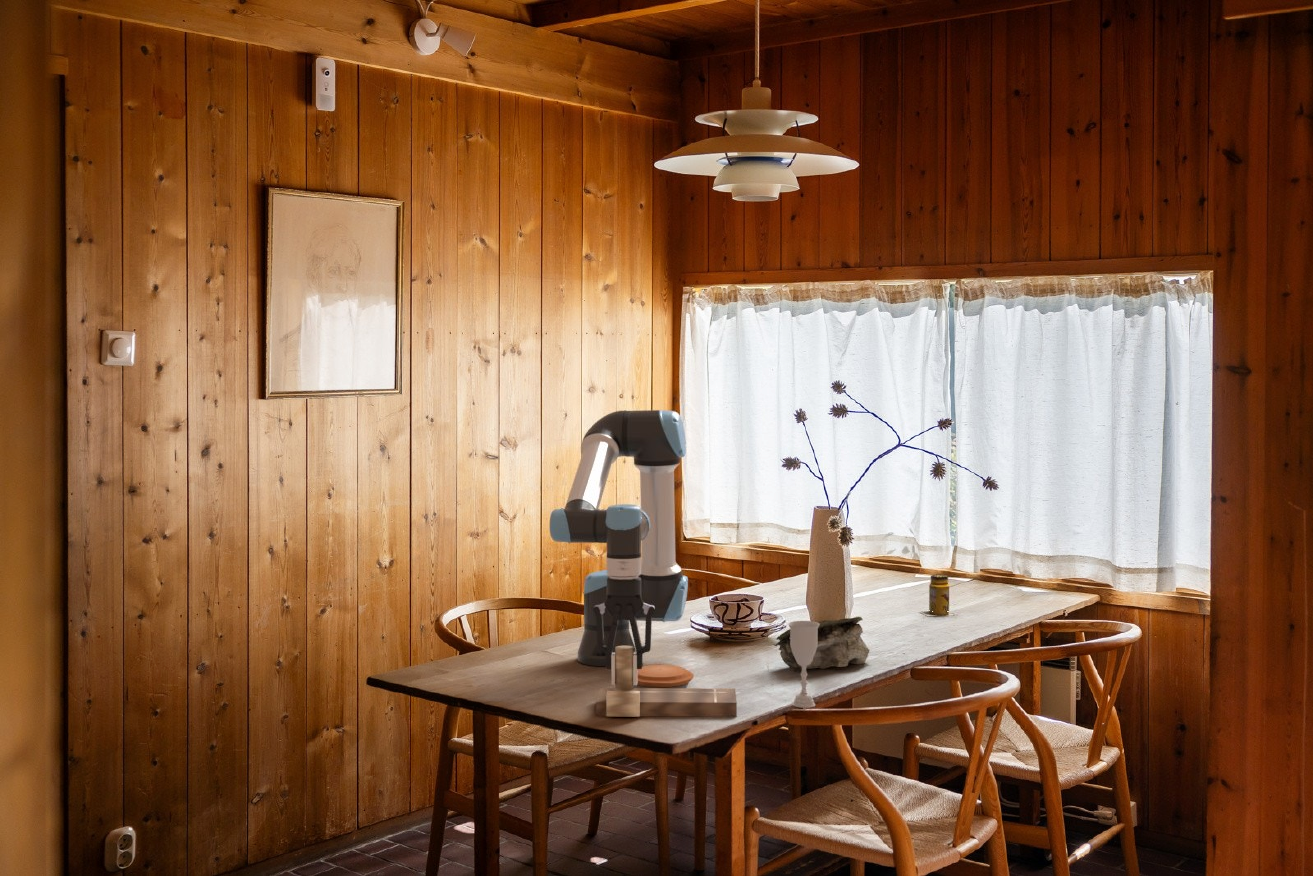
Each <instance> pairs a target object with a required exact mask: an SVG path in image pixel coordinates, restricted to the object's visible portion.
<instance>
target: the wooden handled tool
mask: <svg viewBox="0 0 1313 876" xmlns="http://www.w3.org/2000/svg"><path fill="white" fill-rule="evenodd" d="M633 654H634V647H632V646H617V647H615V685H614V686H615V687H614V688H615V689H616V690H618V691H607V693H606V714H607V716H606V717H618V718H619V717H624V718H625V717H628V718H629V717H636V718H637V717H641V716H640V691H631V690H633V689H634V688H635V687H634V685H633Z"/></svg>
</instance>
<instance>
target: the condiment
mask: <svg viewBox="0 0 1313 876" xmlns="http://www.w3.org/2000/svg"><path fill="white" fill-rule="evenodd" d="M929 582H930V583H929V585H928V589H929V590H928V595H929V597H928V598H929V600H928V603H929V604H928V611H927V610H926V611H918V612H919V613H920V614H922V615H924V616H927V617H939V616H940V617H947V616H950V617H951V616H954V614H952V613H950V584H949V576H948V575H946V574H931V575H930V581H929ZM929 610H930V611H929ZM932 611H933V612H932ZM947 611H949V612H947ZM949 614H950V615H949Z"/></svg>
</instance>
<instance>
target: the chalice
mask: <svg viewBox="0 0 1313 876" xmlns="http://www.w3.org/2000/svg"><path fill="white" fill-rule="evenodd" d="M818 622H819V621H812V620H797V621H796V620H795V621H790V622H788V623H787V624H788V627H789V629H790V646H791V649H792V652H793V655H794V657H795V659H796V661H797V663H798V664H799V665H801V667H802V672H801V673H800V676H801V681H800V686H801V691H800V692H798V693H797V694H796V695H795V698H794V701H793V703H792V706H793V707H795V708H803V709H804V708H808V709H809V708H813V707H815V706H816V703H815V701H814V698H813V696H812V694H811V693H809V692H808V690H807V685H808V683H809V682H808V681H807V676H808V672H807V669H806V666H807V665H809V664H810V663H811V661H812V659H813V657H814V655H815V652H816V649H817V646H818V627H819V625H820V624H819V623H818Z"/></svg>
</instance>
